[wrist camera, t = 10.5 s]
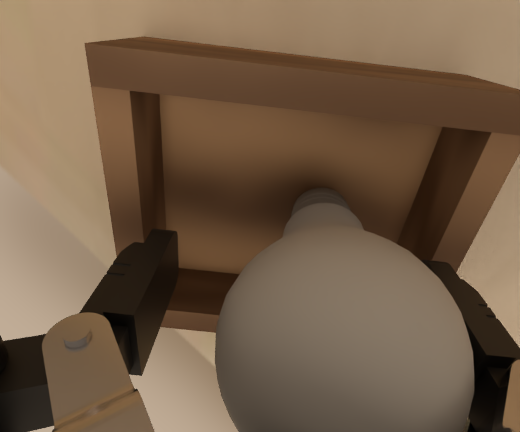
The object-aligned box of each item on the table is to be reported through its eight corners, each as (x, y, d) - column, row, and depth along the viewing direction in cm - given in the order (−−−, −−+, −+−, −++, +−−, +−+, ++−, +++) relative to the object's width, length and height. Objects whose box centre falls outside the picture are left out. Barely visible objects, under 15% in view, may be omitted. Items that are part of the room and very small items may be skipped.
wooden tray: (143, 36, 14) (84, 43, 10) (465, 75, 14) (548, 98, 10) (158, 258, 20) (126, 323, 16) (384, 282, 20) (413, 352, 16)
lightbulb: (255, 253, 17) (196, 530, 8) (254, 138, 14) (156, 355, 5) (375, 261, 17) (474, 572, 7) (400, 143, 14) (633, 402, 4)
